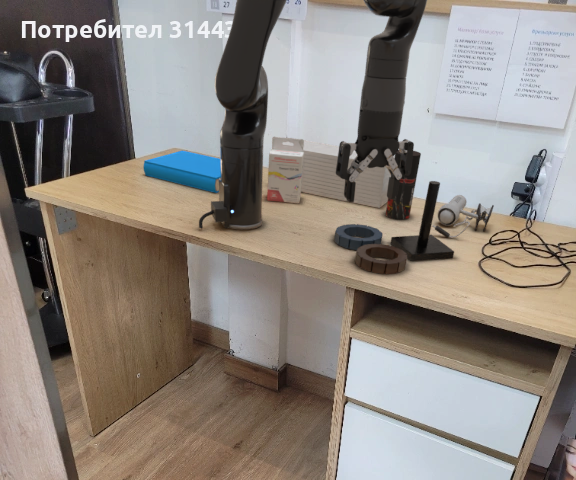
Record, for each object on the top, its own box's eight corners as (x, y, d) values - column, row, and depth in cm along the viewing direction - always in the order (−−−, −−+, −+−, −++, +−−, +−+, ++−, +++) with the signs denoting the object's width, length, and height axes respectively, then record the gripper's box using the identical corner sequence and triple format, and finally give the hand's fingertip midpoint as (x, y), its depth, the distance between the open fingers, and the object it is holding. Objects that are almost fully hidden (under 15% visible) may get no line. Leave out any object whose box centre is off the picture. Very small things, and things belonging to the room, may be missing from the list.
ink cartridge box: (266, 201, 143) (268, 140, 134) (269, 195, 147) (271, 135, 138) (299, 203, 142) (303, 143, 134) (301, 198, 146) (305, 138, 138)
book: (181, 150, 165) (251, 163, 155) (182, 165, 167) (251, 179, 158) (141, 161, 153) (215, 176, 143) (143, 177, 155) (215, 193, 145)
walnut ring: (367, 275, 108) (368, 265, 107) (347, 255, 116) (349, 245, 115) (413, 272, 111) (416, 261, 109) (392, 252, 119) (393, 242, 117)
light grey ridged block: (392, 198, 150) (399, 156, 144) (379, 208, 143) (385, 164, 136) (288, 177, 162) (290, 137, 155) (271, 185, 154) (272, 144, 147)
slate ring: (344, 252, 117) (346, 242, 116) (328, 234, 125) (329, 225, 124) (388, 249, 120) (390, 239, 119) (369, 232, 128) (371, 223, 127)
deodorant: (409, 220, 136) (420, 156, 127) (384, 218, 137) (394, 154, 128) (409, 213, 141) (421, 151, 132) (386, 210, 141) (396, 148, 133)
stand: (410, 261, 115) (424, 190, 107) (390, 243, 123) (401, 176, 114) (452, 258, 118) (469, 189, 109) (430, 240, 125) (444, 174, 117)
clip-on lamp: (466, 256, 127) (494, 219, 137) (474, 232, 122) (502, 196, 132) (419, 239, 131) (449, 205, 141) (425, 215, 126) (455, 181, 136)
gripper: (408, 101, 101) (395, 192, 110) (335, 102, 97) (328, 195, 107) (428, 109, 95) (412, 203, 105) (352, 110, 91) (343, 208, 101)
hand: (370, 199), depth 106 cm, fingers open, 8 cm apart
